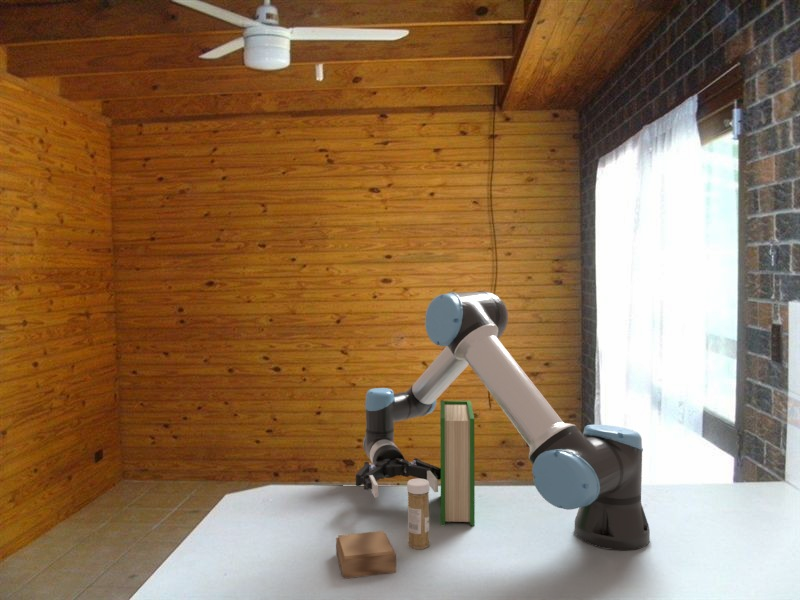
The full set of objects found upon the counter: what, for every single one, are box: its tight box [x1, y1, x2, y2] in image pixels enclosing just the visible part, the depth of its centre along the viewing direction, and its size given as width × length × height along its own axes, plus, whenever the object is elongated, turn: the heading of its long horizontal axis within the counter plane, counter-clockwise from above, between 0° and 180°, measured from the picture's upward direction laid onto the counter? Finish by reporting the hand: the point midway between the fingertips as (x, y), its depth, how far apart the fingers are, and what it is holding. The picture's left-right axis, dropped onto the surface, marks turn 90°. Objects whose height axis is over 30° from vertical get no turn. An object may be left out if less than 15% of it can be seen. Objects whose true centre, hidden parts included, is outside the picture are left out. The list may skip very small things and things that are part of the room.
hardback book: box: [439, 400, 476, 527], centre depth 148 cm, size 18×7×24 cm, turn 176°
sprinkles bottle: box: [406, 477, 431, 550], centre depth 130 cm, size 5×5×14 cm
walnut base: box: [335, 530, 397, 580], centre depth 123 cm, size 10×10×4 cm
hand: (406, 488), depth 140 cm, fingers open, 13 cm apart
